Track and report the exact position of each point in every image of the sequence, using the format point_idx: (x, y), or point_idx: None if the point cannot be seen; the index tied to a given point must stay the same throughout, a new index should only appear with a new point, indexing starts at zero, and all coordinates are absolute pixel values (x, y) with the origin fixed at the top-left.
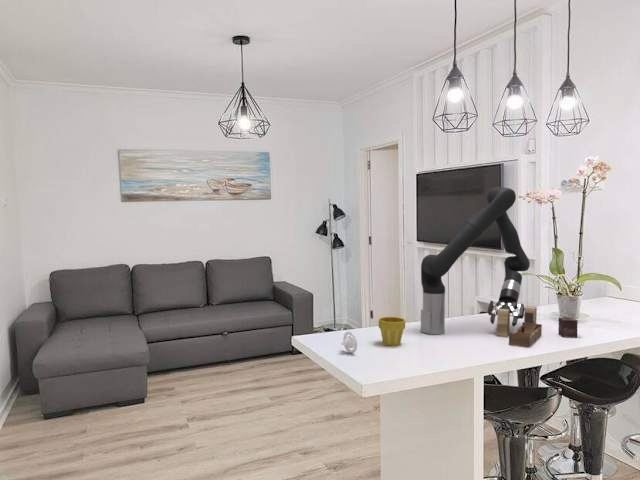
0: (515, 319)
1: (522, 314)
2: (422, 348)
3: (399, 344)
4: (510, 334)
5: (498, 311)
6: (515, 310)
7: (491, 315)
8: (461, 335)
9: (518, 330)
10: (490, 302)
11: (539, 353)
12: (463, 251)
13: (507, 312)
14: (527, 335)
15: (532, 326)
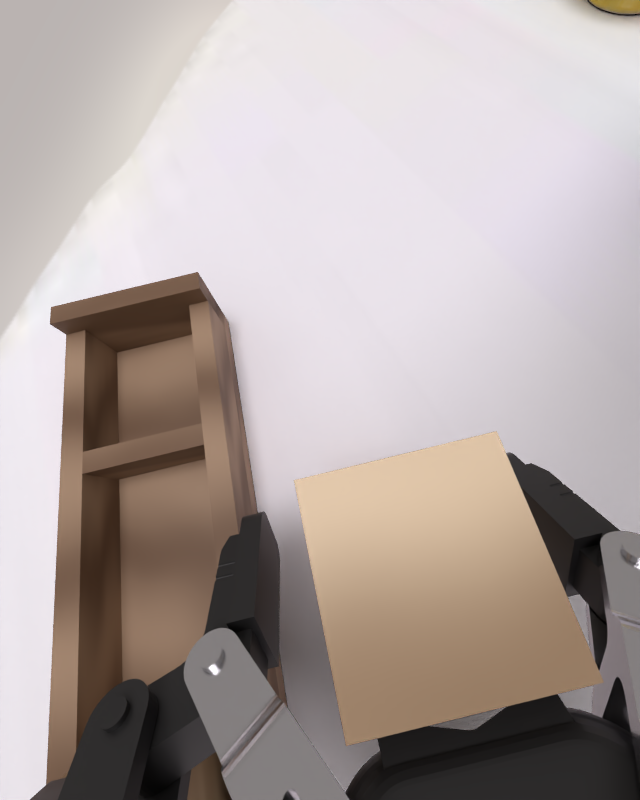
0: (229, 588)
1: (92, 745)
2: (485, 30)
3: (591, 2)
4: (190, 278)
5: (466, 440)
6: None
7: (600, 521)
8: (580, 312)
9: (213, 519)
10: None
11: (44, 289)
12: None
13: (298, 481)
14: (67, 312)
15: None
